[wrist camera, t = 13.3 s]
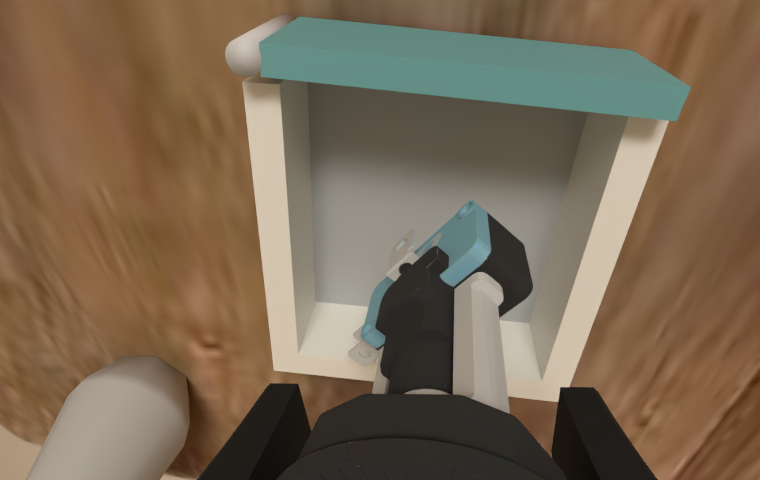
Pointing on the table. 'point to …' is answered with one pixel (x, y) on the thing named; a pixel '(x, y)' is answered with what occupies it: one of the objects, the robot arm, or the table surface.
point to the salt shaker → (118, 424)
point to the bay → (435, 211)
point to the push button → (435, 368)
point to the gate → (458, 66)
